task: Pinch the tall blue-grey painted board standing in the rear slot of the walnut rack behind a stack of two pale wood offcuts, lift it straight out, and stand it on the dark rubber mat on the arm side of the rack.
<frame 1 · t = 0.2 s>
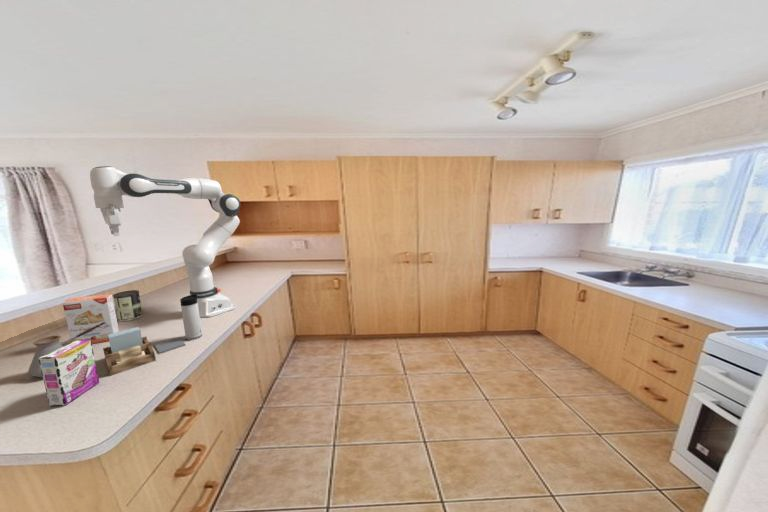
hand: (115, 235, 121), 48 cm above the table, fingers open, 8 cm apart
board: (129, 357, 109), resting in rack
travel mug: (194, 337, 126), on the table
candy bar box: (77, 394, 88), on the table
cracker box: (97, 341, 122), on the table
mat: (169, 345, 118), on the table
upper offcut: (130, 356, 103), point 3 cm above the table, touching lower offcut
coffee can: (130, 317, 147), on the table
coffee pot: (75, 366, 103), on the table
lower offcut: (132, 365, 104), resting in rack, touching upper offcut
rack: (130, 360, 107), on the table
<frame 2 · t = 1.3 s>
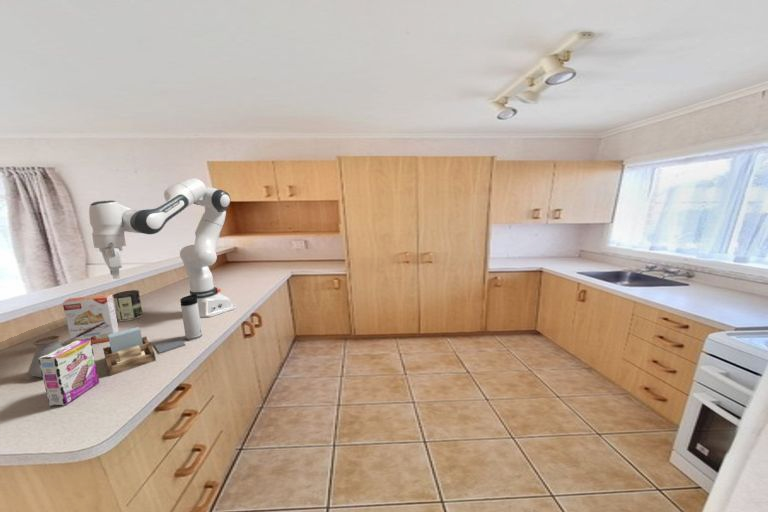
hand: (115, 276, 108), 33 cm above the table, fingers open, 8 cm apart
nothing on the table moved.
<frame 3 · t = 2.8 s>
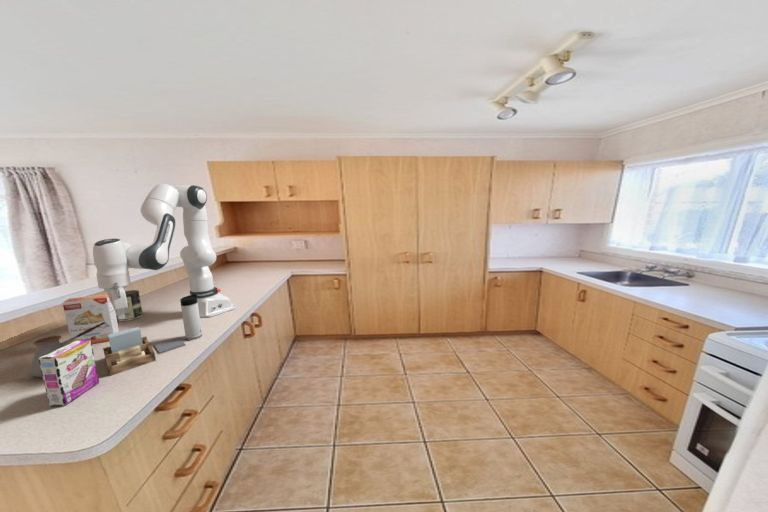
hand: (120, 315, 105), 18 cm above the table, fingers open, 8 cm apart
upper offcut: (130, 356, 103), point 3 cm above the table
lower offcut: (132, 365, 104), resting in rack
everything else where it was.
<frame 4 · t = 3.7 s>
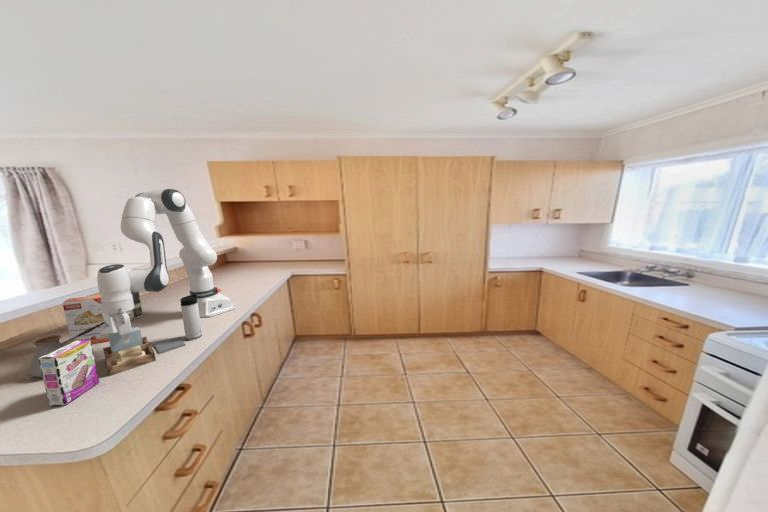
hand: (124, 338, 107), 8 cm above the table, fingers open, 8 cm apart
upper offcut: (131, 356, 103), point 3 cm above the table, touching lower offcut
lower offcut: (132, 365, 104), resting in rack, touching upper offcut
everything else where it was.
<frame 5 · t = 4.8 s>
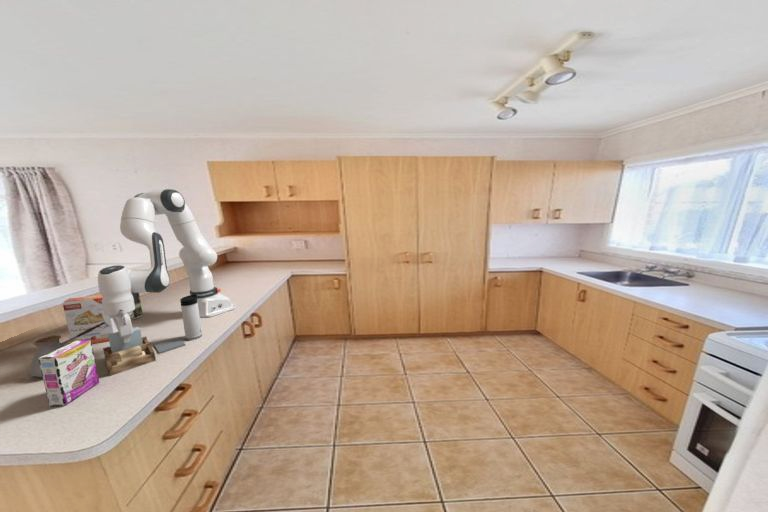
hand: (125, 339, 108), 8 cm above the table, fingers closed on board, 4 cm apart
board: (129, 356, 109), resting in rack, touching gripper
everything else where it was.
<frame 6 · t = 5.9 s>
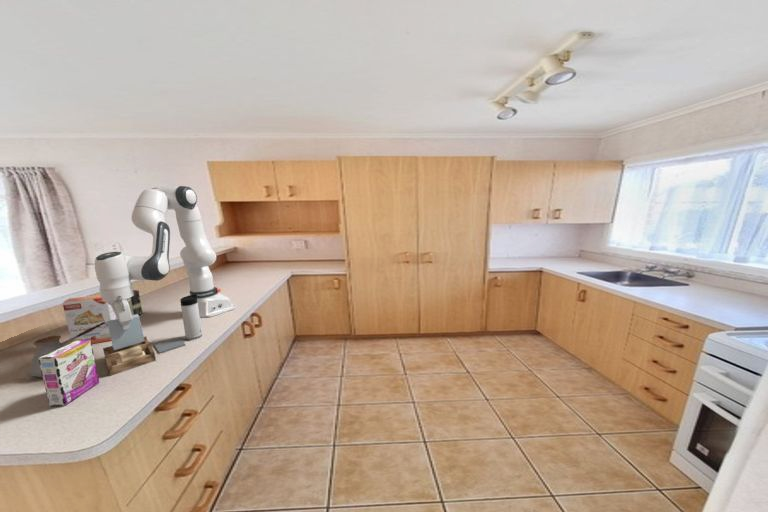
hand: (125, 326, 107), 13 cm above the table, fingers closed on board, 4 cm apart
board: (129, 343, 109), point 5 cm above the table, touching gripper
everything else where it was.
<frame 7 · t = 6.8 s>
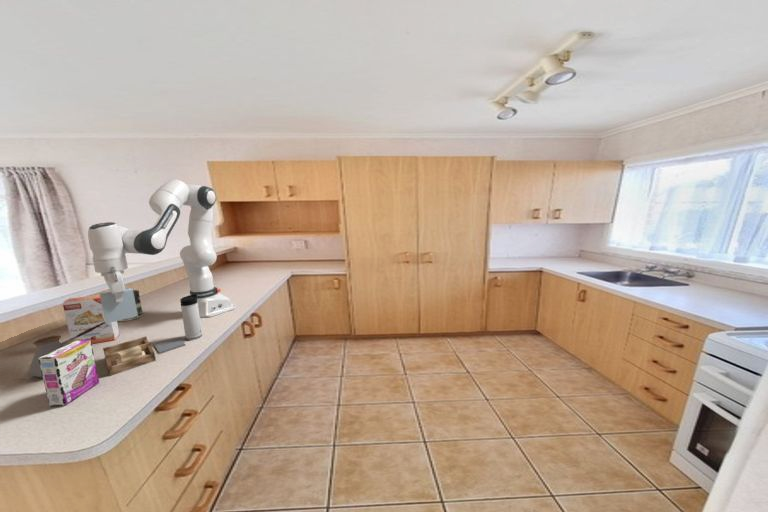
hand: (118, 300, 105), 24 cm above the table, fingers closed on board, 4 cm apart
board: (121, 318, 106), point 17 cm above the table, touching gripper
upper offcut: (130, 357, 103), point 3 cm above the table
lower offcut: (132, 365, 104), resting in rack
everything else where it was.
when the fingers open (9 cm above the table, at t = 11.6 s): board drops 1 cm, resting on mat.
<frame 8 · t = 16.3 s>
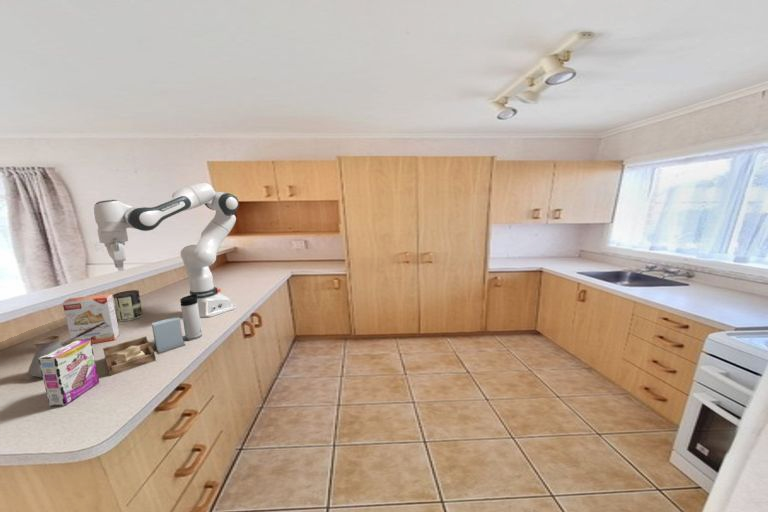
hand: (119, 268, 118), 33 cm above the table, fingers open, 8 cm apart
board: (169, 344, 118), point 1 cm above the table, touching mat
upper offcut: (129, 356, 103), point 3 cm above the table, touching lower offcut
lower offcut: (131, 364, 104), resting in rack, touching upper offcut
everything else where it was.
at the end: board inside the target area on the mat (0.1 cm from its centre), point 0.6 cm above the mat's base; board tilted 0°; the gripper is holding nothing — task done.
